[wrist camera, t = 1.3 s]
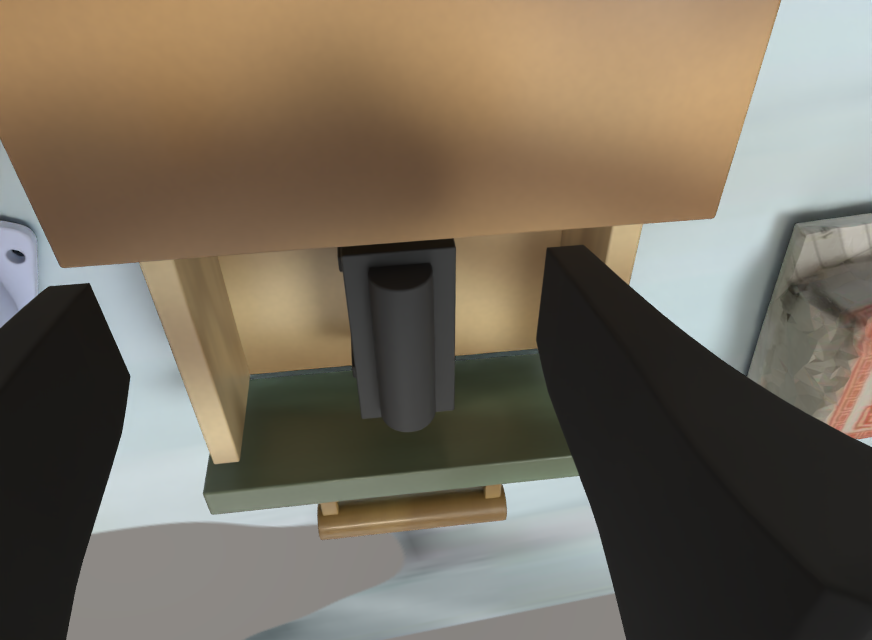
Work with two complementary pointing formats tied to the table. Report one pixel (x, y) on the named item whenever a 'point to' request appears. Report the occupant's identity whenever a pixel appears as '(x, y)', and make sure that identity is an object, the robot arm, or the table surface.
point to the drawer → (338, 394)
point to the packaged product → (822, 325)
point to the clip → (402, 328)
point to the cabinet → (367, 118)
